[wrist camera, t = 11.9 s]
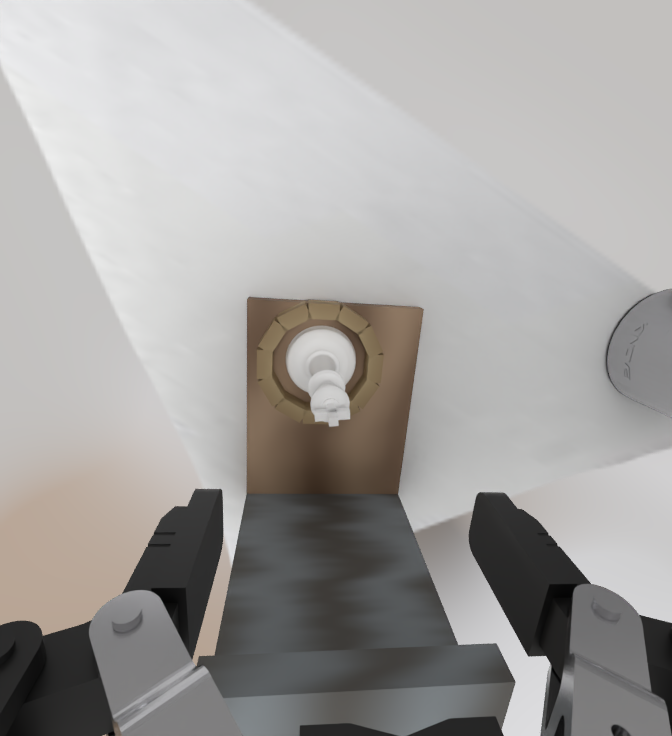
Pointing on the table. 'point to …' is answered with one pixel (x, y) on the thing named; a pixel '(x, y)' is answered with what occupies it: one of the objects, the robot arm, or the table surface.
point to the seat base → (338, 550)
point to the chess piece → (323, 370)
